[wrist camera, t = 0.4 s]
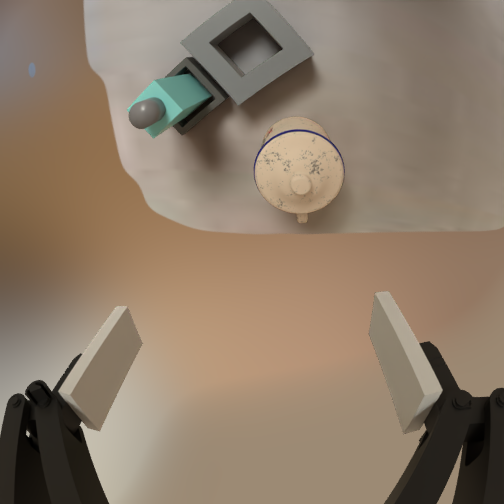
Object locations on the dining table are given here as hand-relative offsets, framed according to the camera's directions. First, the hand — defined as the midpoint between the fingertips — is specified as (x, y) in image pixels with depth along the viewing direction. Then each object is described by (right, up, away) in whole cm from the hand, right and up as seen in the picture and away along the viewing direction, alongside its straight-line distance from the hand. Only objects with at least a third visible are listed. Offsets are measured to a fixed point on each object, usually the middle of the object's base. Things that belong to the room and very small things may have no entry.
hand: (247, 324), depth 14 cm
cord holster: (-7, +23, +16) cm, 29 cm away
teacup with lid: (+6, +16, +21) cm, 27 cm away
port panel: (0, +27, +12) cm, 30 cm away
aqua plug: (-7, +23, +16) cm, 29 cm away
